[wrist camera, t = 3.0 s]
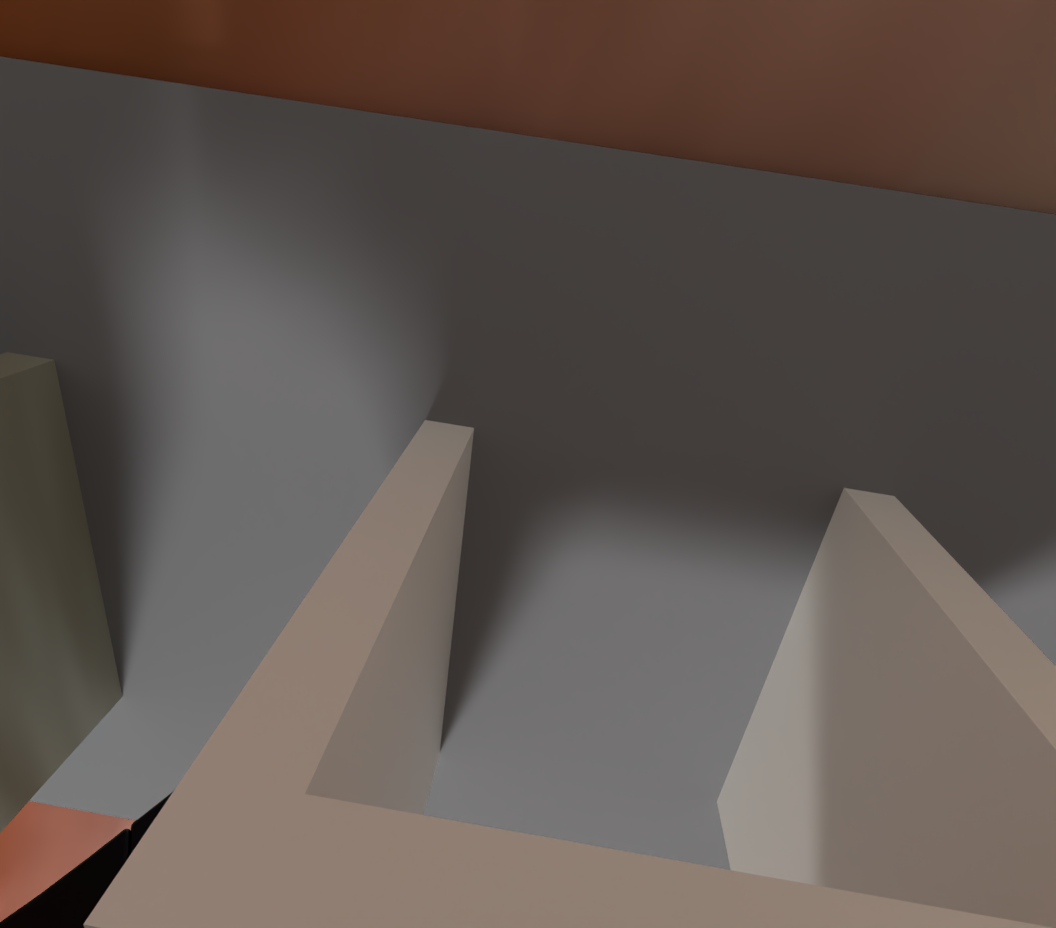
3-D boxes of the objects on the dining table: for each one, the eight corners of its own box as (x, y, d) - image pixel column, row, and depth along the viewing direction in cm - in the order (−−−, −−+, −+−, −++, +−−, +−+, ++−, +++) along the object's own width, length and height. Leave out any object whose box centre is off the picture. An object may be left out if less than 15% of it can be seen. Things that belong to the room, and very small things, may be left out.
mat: (1319, 255, 7) (1358, 260, 7) (871, 934, 13) (879, 954, 13) (-761, -56, 8) (-826, -68, 8) (-286, 725, 14) (-310, 739, 14)
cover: (894, 495, 9) (1562, 1200, 3) (755, 807, 11) (927, 1479, 6) (425, 420, 9) (81, 925, 3) (402, 746, 12) (209, 1335, 6)
